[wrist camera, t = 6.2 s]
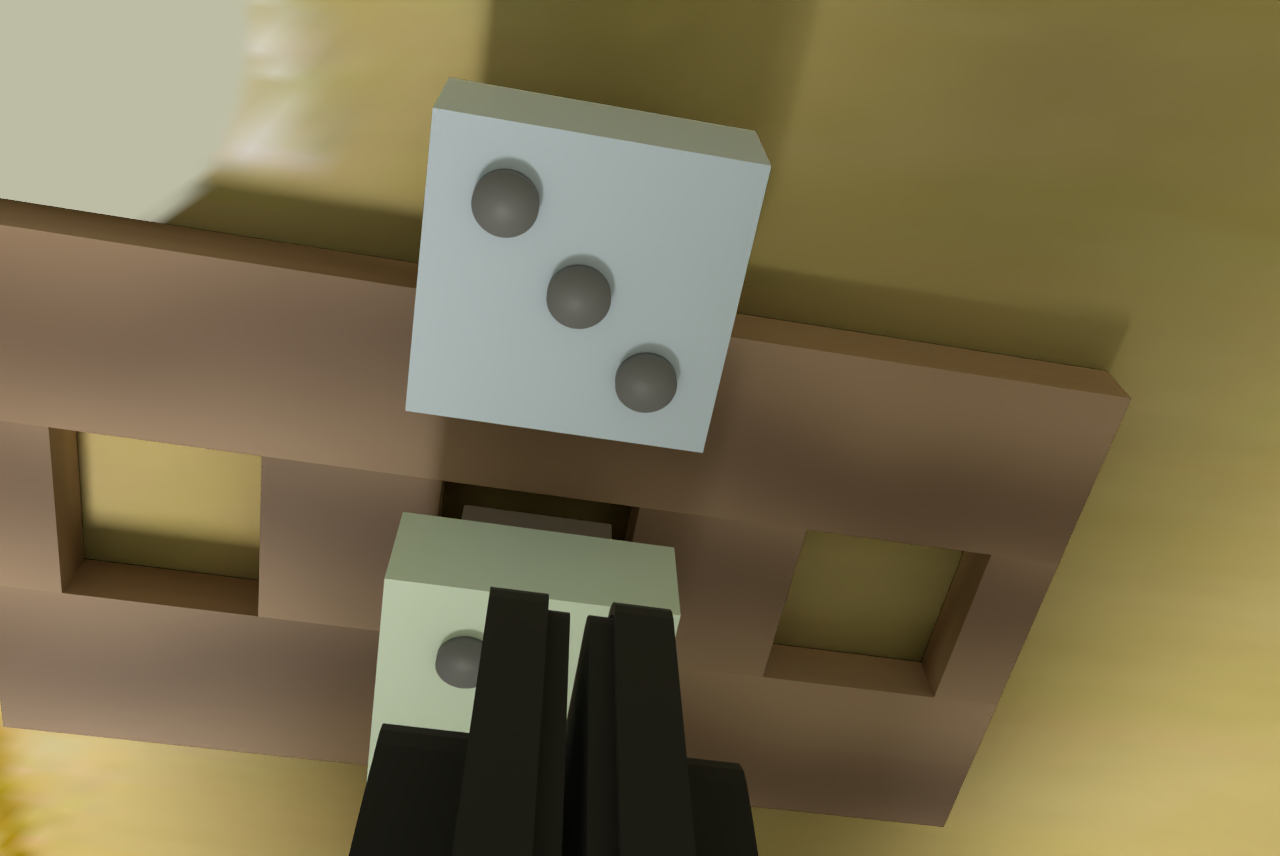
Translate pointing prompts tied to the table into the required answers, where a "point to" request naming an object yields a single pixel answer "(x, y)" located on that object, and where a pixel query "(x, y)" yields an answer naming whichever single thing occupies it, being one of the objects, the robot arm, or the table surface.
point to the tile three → (580, 264)
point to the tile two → (459, 592)
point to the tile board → (516, 460)
